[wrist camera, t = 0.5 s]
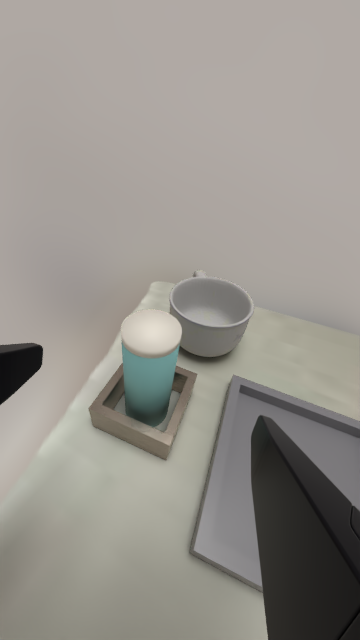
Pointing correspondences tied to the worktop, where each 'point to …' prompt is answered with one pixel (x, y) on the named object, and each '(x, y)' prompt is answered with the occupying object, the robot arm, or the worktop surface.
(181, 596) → the worktop surface
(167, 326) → the canister
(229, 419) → the tray
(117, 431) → the square metallic frame
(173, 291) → the teacup
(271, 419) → the robot arm
